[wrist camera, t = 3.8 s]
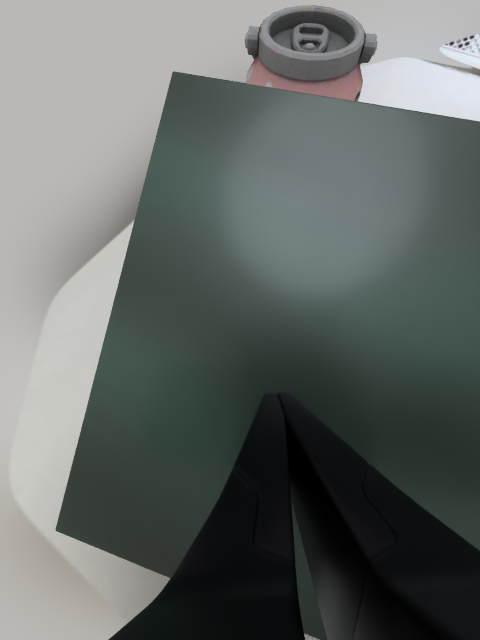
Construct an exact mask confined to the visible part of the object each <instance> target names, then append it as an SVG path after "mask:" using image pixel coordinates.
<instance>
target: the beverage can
mask: <svg viewBox="0 0 480 640" xmlns="http://www.w3.org/2000/svg"><path fill="white" fill-rule="evenodd" d="M376 39H377V35H376V34H366V33H365V31H364V29H363V26H362V25H361V24H360V23H359V22H358V21H357V20H356V19H355V18H354V17H352V16H351V15H349V14H347V13H345V12H343V11H340V10H336V9H332V8H329V7H322V6H296V7H291V8H285V9H283V10H280V11H277V12H274V13H273V14H272V15H270V16H269V17H267V18H266V19H265V20H264V21H263V22H262V24H261V26H260V27H251V26H250V27H249V30H248V32H247V33H246V37H245V46H246V48H247V49H248V54H249V55H252V56H253V58H254V61H253V63H252V65H251V67H250V68H249V70H248V73H247V78H246V79H247V80H246V83H247V84H253V85H259V86H265V87H271V88H277V89H283V90H289V91H295V92H301V93H308V94H314V95H320V96H326V97H332V98H338V99H344V100H350V101H356V102H358V99H359V96H360V92H361V88H362V82H363V79H362V75H361V70H360V64H361V63H368V62H369V61H370V59H371V57H372V56H373V55H374V54H375V51H376V49H377V41H376Z"/></svg>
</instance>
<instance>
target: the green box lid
mask: <svg viewBox="0 0 480 640" xmlns="http://www.w3.org/2000/svg"><path fill="white" fill-rule="evenodd" d="M285 392H290V393H291V394H293V395H294V396H295V397H296V398H297V399H298V400H299V401H300V402H302V403H303V404H304V405H305V406H306V407H307V408H308V409H309V410H311V411H312V412H313V413H314V414H315V415H316V416H317V417H318V418H319V419H321V420H322V421H323V422H324V423H325V424H326V425H327V426H328V427H330V428H331V429H332V430H333V431H334V432H335V433H336V434H337V435H339V436H340V437H341V438H342V439H343V440H344V441H345V442H346V443H347V444H349V445H350V446H351V447H352V448H353V449H354V450H355V451H356V452H358V453H359V454H360V455H361V456H362V457H363V458H364V459H365V460H367V461H368V464H371V465H372V466H373V467H375V468H376V469H377V470H378V471H379V472H380V473H381V474H382V475H384V476H385V477H386V478H387V479H388V480H389V481H391V482H392V483H393V484H394V485H395V486H397V487H398V488H399V489H400V490H401V491H403V492H404V493H405V494H406V495H408V496H409V497H410V498H411V499H413V500H414V501H415V502H417V503H418V504H419V505H420V506H422V507H423V508H424V509H426V510H427V511H428V512H430V513H431V514H432V515H433V516H435V517H436V518H437V519H439V520H440V521H441V522H443V523H444V524H445V525H447V526H448V527H449V528H451V529H452V530H453V531H455V532H456V533H457V534H459V535H460V536H461V537H463V538H464V539H465V540H467V541H468V542H469V543H470V544H472V545H473V546H474V547H476V548H477V549H478V550H480V122H478V121H472V120H466V119H460V118H454V117H448V116H442V115H436V114H430V113H423V112H417V111H411V110H405V109H399V108H393V107H387V106H381V105H375V104H369V103H362V102H356V101H350V100H344V99H338V98H332V97H326V96H320V95H314V94H308V93H301V92H295V91H289V90H283V89H277V88H271V87H265V86H259V85H253V84H247V83H240V82H234V81H228V80H222V79H216V78H210V77H204V76H197V75H192V74H186V73H179V72H173V73H172V77H171V81H170V85H169V89H168V93H167V97H166V101H165V105H164V108H163V112H162V116H161V120H160V124H159V128H158V132H157V135H156V140H155V143H154V147H153V151H152V155H151V159H150V163H149V167H148V171H147V175H146V179H145V183H144V187H143V190H142V194H141V198H140V202H139V206H138V210H137V214H136V217H135V221H134V225H133V229H132V233H131V237H130V241H129V245H128V249H127V253H126V257H125V260H124V264H123V268H122V272H121V276H120V280H119V284H118V288H117V292H116V296H115V299H114V303H113V307H112V311H111V315H110V319H109V323H108V327H107V331H106V335H105V339H104V342H103V346H102V350H101V354H100V358H99V362H98V366H97V370H96V374H95V378H94V381H93V385H92V389H91V393H90V397H89V401H88V405H87V409H86V413H85V417H84V421H83V424H82V428H81V432H80V436H79V440H78V444H77V448H76V452H75V456H74V460H73V463H72V467H71V471H70V475H69V479H68V483H67V487H66V491H65V495H64V499H63V503H62V506H61V510H60V514H59V518H58V522H57V526H56V531H58V532H60V533H62V534H65V535H67V536H70V537H72V538H75V539H77V540H79V541H82V542H84V543H87V544H89V545H92V546H94V547H96V548H99V549H101V550H104V551H106V552H109V553H111V554H113V555H116V556H118V557H121V558H123V559H125V560H128V561H130V562H133V563H135V564H138V565H140V566H142V567H145V568H147V569H150V570H152V571H155V572H157V573H159V574H162V575H164V576H167V577H169V578H171V577H172V576H173V574H174V573H175V571H176V570H177V568H178V566H179V565H180V563H181V561H182V560H183V558H184V556H185V555H186V553H187V551H188V550H189V548H190V546H191V545H192V543H193V541H194V540H195V538H196V536H197V535H198V533H199V531H200V530H201V528H202V526H203V525H204V523H205V522H206V520H207V518H208V516H209V515H210V513H211V511H212V509H213V508H214V506H215V504H216V502H217V500H218V499H219V497H220V494H221V492H222V490H223V488H224V486H225V484H226V482H227V480H228V477H229V475H230V473H231V470H232V469H233V466H234V464H235V461H236V459H237V457H238V454H239V452H240V450H241V447H242V445H243V443H244V440H245V438H246V436H247V433H248V431H249V429H250V426H251V424H252V421H253V419H254V417H255V414H256V412H257V410H258V407H259V405H260V403H261V400H262V398H263V396H264V394H265V393H277V394H278V393H285ZM291 504H292V501H291ZM292 519H293V533H294V548H295V563H296V564H295V567H296V577H297V588H298V598H299V606H300V612H301V619H302V625H303V631H304V633H305V634H308V635H310V636H312V637H315V638H317V639H320V640H328V639H327V635H326V632H325V628H324V624H323V620H322V616H321V612H320V608H319V605H318V601H317V597H316V593H315V589H314V585H313V581H312V578H311V574H310V570H309V566H308V562H307V558H306V554H305V551H304V547H303V543H302V539H301V535H300V531H299V528H298V524H297V520H296V516H295V512H294V508H293V504H292Z"/></svg>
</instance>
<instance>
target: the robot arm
mask: <svg viewBox="0 0 480 640" xmlns="http://www.w3.org/2000/svg"><path fill="white" fill-rule="evenodd" d="M291 501H292V504H293V508H294V512H295V516H296V520H297V524H298V528H299V531H300V535H301V539H302V543H303V547H304V551H305V554H306V558H307V562H308V566H309V570H310V574H311V578H312V581H313V585H314V589H315V593H316V597H317V601H318V605H319V608H320V612H321V616H322V620H323V624H324V628H325V632H326V635H327V639H328V640H480V550H478V549H477V548H476V547H474V546H473V545H472V544H470V543H469V542H468V541H467V540H465V539H464V538H463V537H461V536H460V535H459V534H457V533H456V532H455V531H453V530H452V529H451V528H449V527H448V526H447V525H445V524H444V523H443V522H441V521H440V520H439V519H437V518H436V517H435V516H433V515H432V514H431V513H430V512H428V511H427V510H426V509H424V508H423V507H422V506H420V505H419V504H418V503H417V502H415V501H414V500H413V499H411V498H410V497H409V496H408V495H406V494H405V493H404V492H403V491H401V490H400V489H399V488H398V487H397V486H395V485H394V484H393V483H392V482H391V481H389V480H388V479H387V478H386V477H385V476H384V475H382V474H381V473H380V472H379V471H378V470H377V469H376V468H375V467H373V466H372V465H371V464H368V461H367V460H365V459H364V458H363V457H362V456H361V455H360V454H359V453H358V452H356V451H355V450H354V449H353V448H352V447H351V446H350V445H349V444H347V443H346V442H345V441H344V440H343V439H342V438H341V437H340V436H339V435H337V434H336V433H335V432H334V431H333V430H332V429H331V428H330V427H328V426H327V425H326V424H325V423H324V422H323V421H322V420H321V419H319V418H318V417H317V416H316V415H315V414H314V413H313V412H312V411H311V410H309V409H308V408H307V407H306V406H305V405H304V404H303V403H302V402H300V401H299V400H298V399H297V398H296V397H295V396H294V395H293V394H291V393H290V392H285V393H278V394H277V393H265V394H264V396H263V398H262V400H261V403H260V405H259V407H258V410H257V412H256V414H255V417H254V419H253V421H252V424H251V426H250V429H249V431H248V433H247V436H246V438H245V440H244V443H243V445H242V447H241V450H240V452H239V454H238V457H237V459H236V461H235V464H234V466H233V469H232V470H231V473H230V475H229V477H228V480H227V482H226V484H225V486H224V488H223V490H222V492H221V494H220V497H219V499H218V500H217V502H216V504H215V506H214V508H213V509H212V511H211V513H210V515H209V516H208V518H207V520H206V522H205V523H204V525H203V526H202V528H201V530H200V531H199V533H198V535H197V536H196V538H195V540H194V541H193V543H192V545H191V546H190V548H189V550H188V551H187V553H186V555H185V556H184V558H183V560H182V561H181V563H180V565H179V566H178V568H177V570H176V571H175V573H174V574H173V576H172V577H171V579H170V580H169V582H168V583H167V585H166V586H165V587H164V589H163V590H162V591H161V592H160V594H159V595H158V596H157V597H156V598H155V599H154V600H153V601H152V602H151V603H150V604H149V605H148V606H147V607H146V608H145V609H144V610H143V611H141V612H140V613H139V614H138V615H137V616H136V617H134V618H133V619H132V620H131V621H130V622H129V623H127V624H126V625H125V626H124V627H123V628H122V629H121V630H119V631H118V632H117V633H116V634H115V635H114V636H112V637H111V638H110V639H109V640H305V637H304V631H303V625H302V619H301V612H300V606H299V598H298V588H297V577H296V567H295V564H296V563H295V548H294V533H293V519H292V504H291Z"/></svg>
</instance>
